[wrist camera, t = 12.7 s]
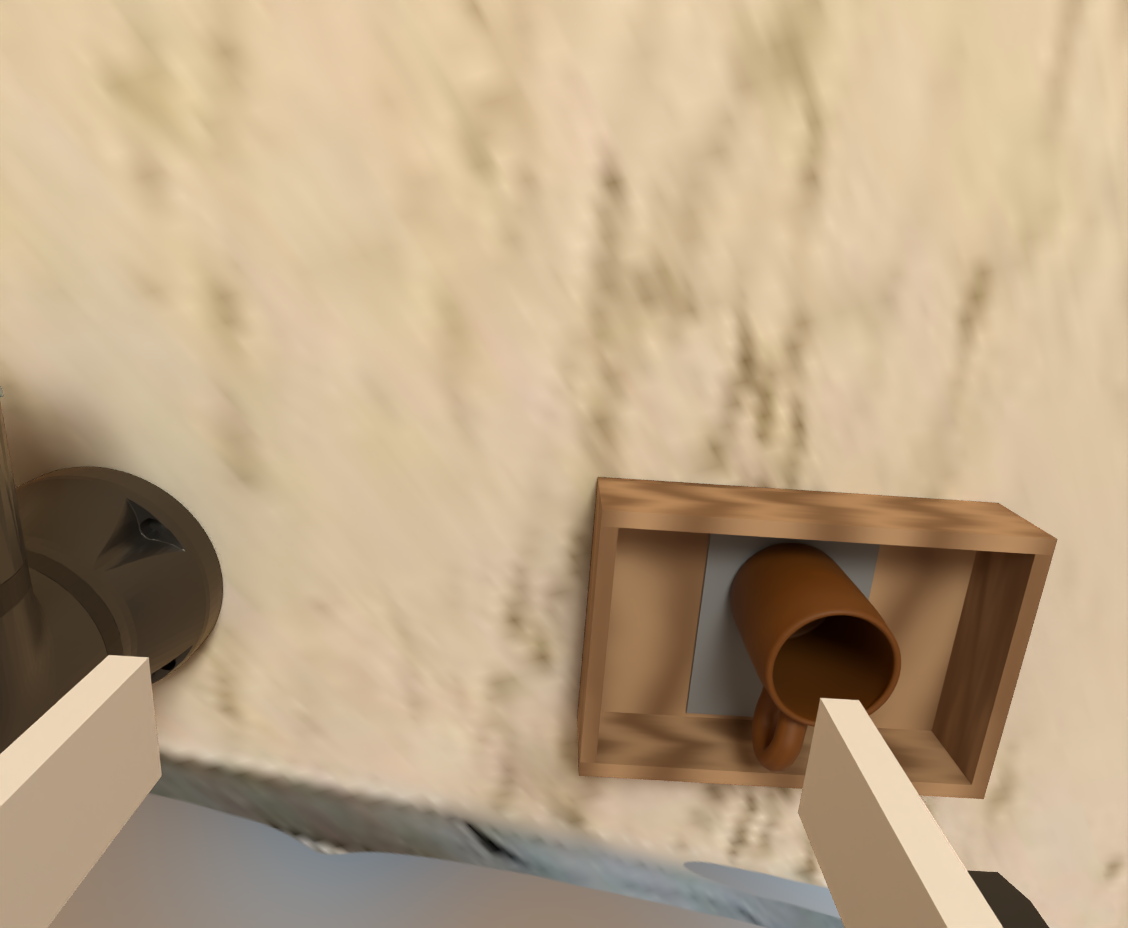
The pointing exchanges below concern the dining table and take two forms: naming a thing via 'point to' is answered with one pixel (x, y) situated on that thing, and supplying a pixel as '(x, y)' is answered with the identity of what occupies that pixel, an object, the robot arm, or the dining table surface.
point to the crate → (899, 593)
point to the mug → (807, 644)
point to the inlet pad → (719, 649)
